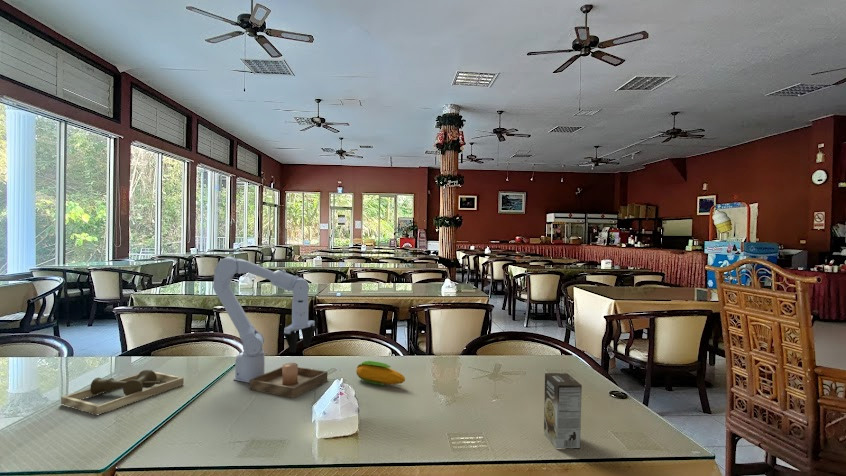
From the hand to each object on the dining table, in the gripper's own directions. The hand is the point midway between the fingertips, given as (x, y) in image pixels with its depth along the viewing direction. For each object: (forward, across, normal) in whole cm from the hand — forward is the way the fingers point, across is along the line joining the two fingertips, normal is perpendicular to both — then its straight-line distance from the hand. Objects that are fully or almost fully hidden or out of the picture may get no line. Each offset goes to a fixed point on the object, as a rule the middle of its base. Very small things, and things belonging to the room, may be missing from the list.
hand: (299, 349), depth 160 cm
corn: (+10, +5, -31) cm, 33 cm away
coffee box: (+10, -12, -92) cm, 93 cm away
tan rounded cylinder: (+9, -9, -3) cm, 13 cm away
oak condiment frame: (+9, -38, +37) cm, 54 cm away
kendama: (+9, -38, +37) cm, 53 cm away
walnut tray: (+9, -9, -3) cm, 13 cm away
